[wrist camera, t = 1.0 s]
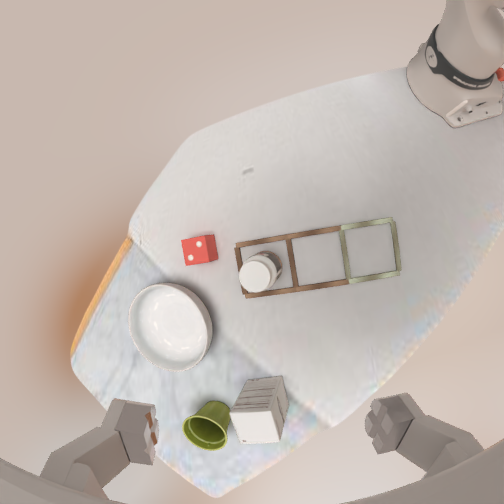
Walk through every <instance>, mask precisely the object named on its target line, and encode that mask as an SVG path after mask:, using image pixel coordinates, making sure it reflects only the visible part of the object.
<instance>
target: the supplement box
mask: <svg viewBox="0 0 504 504" xmlns="http://www.w3.org/2000/svg"><path fill="white" fill-rule="evenodd" d="M288 407H289V402H288V399H287V396H286V392H285V388H284V383H283V379H282V376H276V377H268V378H260V379H251V380H247V382H246V384H245V386H244V387H243V389H242V391H241V393H240V395H239V397H238V398H237V400H236V402H235V404H234V406H233V407H232V409H231V411H230V413H229V414H230V417H231V420H232V422H233V425H234V428H235V431H236V433H237V436H238V439H239V441H240V444H257V443H275V442H280V439H281V435H282V431H283V427H284V423H285V419H286V415H287V411H288Z"/></svg>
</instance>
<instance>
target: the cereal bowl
mask: <svg viewBox="0 0 504 504" xmlns="http://www.w3.org/2000/svg"><path fill="white" fill-rule="evenodd" d="M128 323H129V330H130V334H131V337H132V340H133V342H134V344H135V346H136V347H137V349H138V350H139V352H140V353H141V354H142V355H143V356H144V357H145V358H146V359H147V360H148V361H149V362H150V363H152V364H153V365H155V366H157V367H159V368H161V369H164V370H167V371H173V372H180V371H185V370H188V369H190V368H192V367H194V366H195V365H197V364H198V363H199V362H200V361H201V360H202V359H203V357H204V356H205V354H206V353H207V351H208V349H209V347H210V344H211V340H212V333H213V332H212V329H213V328H212V322H211V319H210V315H209V313H208V311H207V308H206V307H205V305H204V303H203V302H202V301H201V300H200V299H199V297H198V296H197V295H195V294H194V293H193V292H192V291H190V290H189V289H187V288H185V287H183V286H181V285H177V284H173V283H158V284H153V285H150V286H148V287H146V288H144V289H143V290H141V291H140V292H139V293H138V294H137V295H136V297H135V298H134V300H133V301H132V304H131V306H130V310H129V317H128Z"/></svg>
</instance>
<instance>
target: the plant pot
mask: <svg viewBox="0 0 504 504" xmlns="http://www.w3.org/2000/svg"><path fill="white" fill-rule="evenodd" d="M229 413H230V410H229V408H228V407H227V406H226V405H225V404H223V403H222V402H219V401H210V402H208V403H207V404H206V405H205V406H204V407H202V408H201V409H200V410H199V411H198V412H197V413H196V414H195V415H193V416H190V417H188V418H186V419H185V421H184V422H183V425H182V429H183V433H184V435H185V436H186V438H187V439H188V440H189V441H190V442H191V443H192V444H194V445H195V446H197V447H199V448H201V449H205V450H211V451H214V450H219V449H221V448H223V447H224V446H225V445H226V443H227V428H228V425H229V421H230V414H229Z"/></svg>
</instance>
